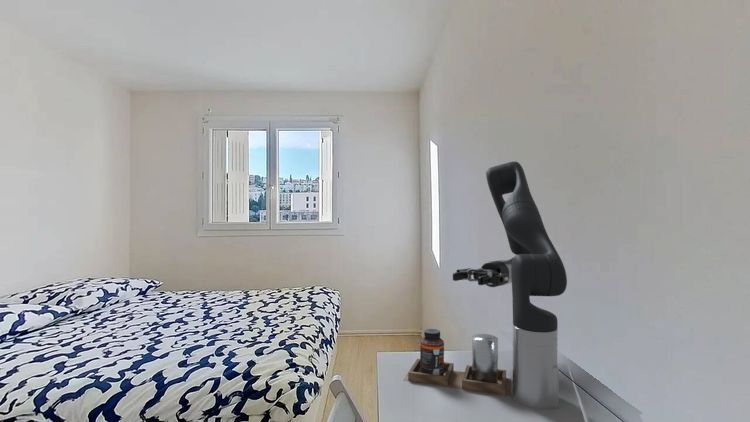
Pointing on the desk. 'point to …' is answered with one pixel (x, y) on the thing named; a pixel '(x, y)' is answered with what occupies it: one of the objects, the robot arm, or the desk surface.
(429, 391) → the desk surface
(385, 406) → the desk surface
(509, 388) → the wooden double tray
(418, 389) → the desk surface
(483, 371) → the seated can
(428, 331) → the supplement bottle
